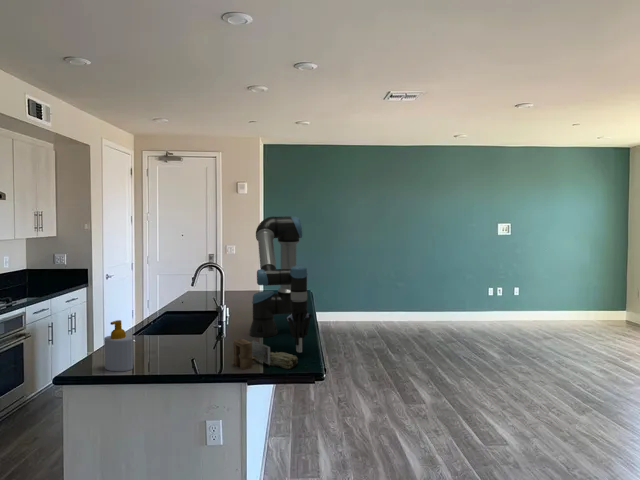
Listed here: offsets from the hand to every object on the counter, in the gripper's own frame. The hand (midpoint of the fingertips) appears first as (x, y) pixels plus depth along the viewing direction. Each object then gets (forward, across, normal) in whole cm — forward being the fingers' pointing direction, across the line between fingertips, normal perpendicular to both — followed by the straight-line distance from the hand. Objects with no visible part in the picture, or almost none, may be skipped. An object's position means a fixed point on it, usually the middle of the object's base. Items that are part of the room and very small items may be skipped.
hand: (299, 351), depth 208 cm
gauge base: (+2, +23, -6) cm, 23 cm away
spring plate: (+1, +23, -2) cm, 23 cm away
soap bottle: (+3, +70, -33) cm, 77 cm away
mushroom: (+3, +12, +5) cm, 13 cm away
